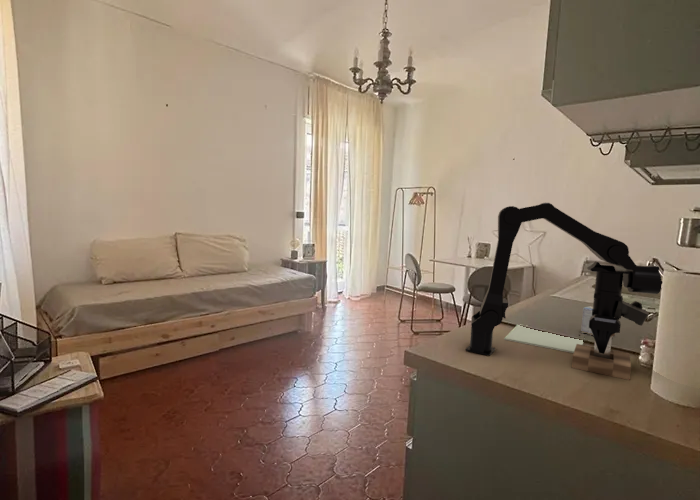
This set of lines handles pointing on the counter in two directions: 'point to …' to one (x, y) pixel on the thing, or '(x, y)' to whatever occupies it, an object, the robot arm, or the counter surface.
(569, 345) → the sage mat
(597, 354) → the metal peg
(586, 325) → the medicine box
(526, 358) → the counter surface
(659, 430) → the counter surface
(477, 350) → the robot arm
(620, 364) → the walnut block
